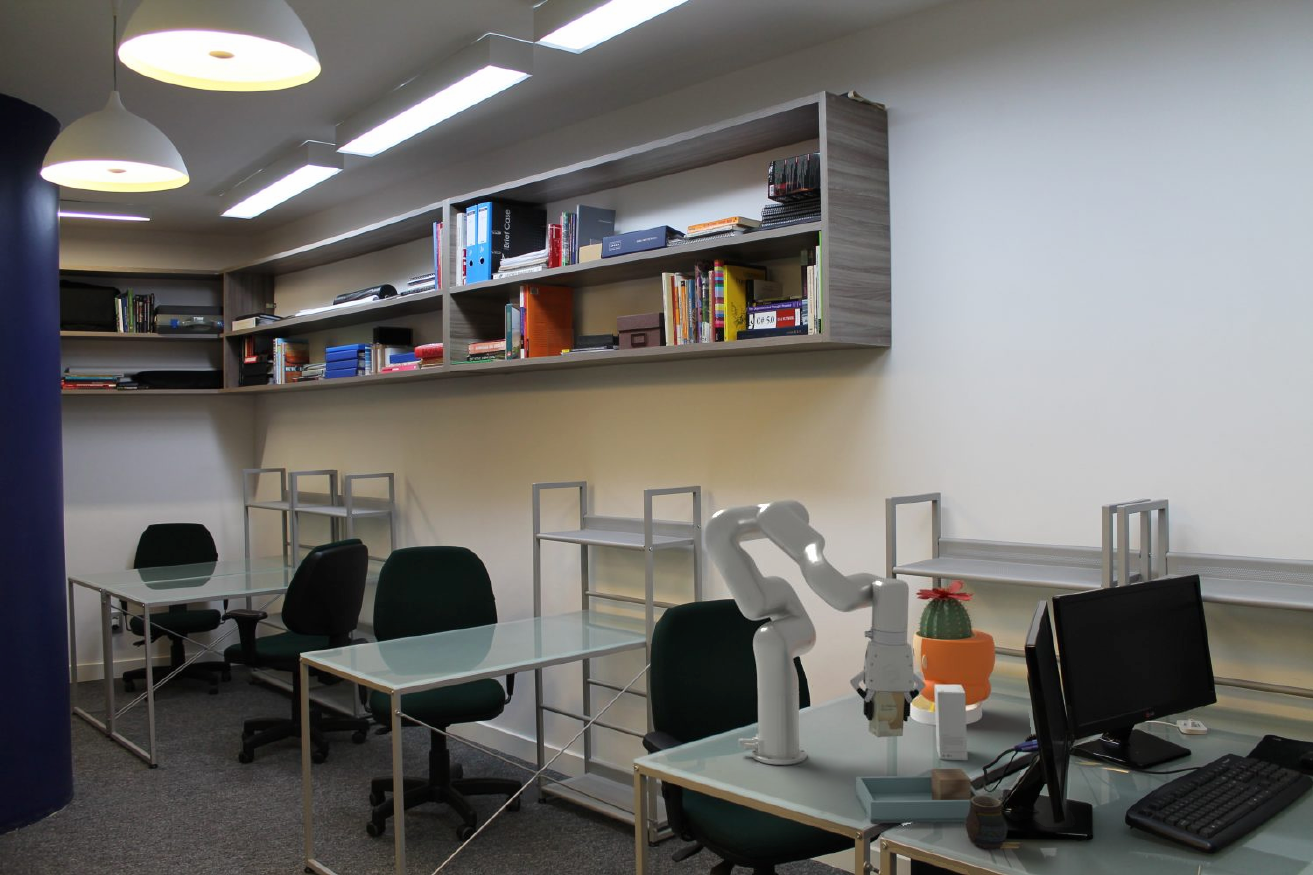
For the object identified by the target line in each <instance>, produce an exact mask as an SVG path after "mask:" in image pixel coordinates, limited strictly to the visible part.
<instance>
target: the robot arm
mask: <svg viewBox="0 0 1313 875" xmlns="http://www.w3.org/2000/svg"><path fill="white" fill-rule="evenodd" d="M809 523H810V514H809V512H808V510H807V508H806V507H805V505H803V504H802V503H801V502H799V501H797V500H793V499H787V500H777V501H772V502H769V503H762V504H753V505H745V506H732V507H728V508H724V509H721V510H718V511H717V512H714V514H712V516H711V517H710V518H709V519H708V521H707V523H706V526H705V529H704V530H705V531H704V543H705V548H706V550H707V553H708V555H709V556H710V559H711V560H712V562H713V563H714V565H715V567H716V568H717V569H718V571H719V573H720V575H721V577H722V579H723V580H724V583H725V584H726V586H727V588H728V590H729V593H730V594H731V596H732V597H733V599H734V601H735V603H736V605H737V607H738V609H739V611H740V612H741V614H742V615H743V616H744V617H745V618H746V619H747V620H749V621H750V620H751V621H760V620H765V619H768V618H770V620H771V621H767V622H765V623H764V624H762V625H761V626H760V627H759V628H758V629H757V630H756V631H755V633H754V636H753V640H752V647H753V649H752V650H753V654H754V659H755V664H756V674H757V675H756V676H757V678H756V679H757V681H756V683H757V685H756V686H757V724H758V725H757V727H758V728H757V731H758V732H757V733H755V736H752V737H751V738H738V748H744V749H745V750H751V756H752V758H753V759H754V760H756V761H758V762H760V763H763V764H769V765H776V766H777V765H778V766H779V765H780V766H782V765H783V766H784V765H794V764H795V765H796V764H798V763H799V764H800V763H801V762H803V761H804V760H805V759H807V751H806V750H805V749H804V748H803V747H801V746H800V695H799V694H800V691H799V688H800V687H799V686H800V685H799V684H800V683H799V676H798V675H799V674H798V672H797V667H796V666H795V663H794V659H795V658H796V657H801V656H803V655H805V654H807V653H809V652H810V651H811V650H812V649H813V648H814V647H815V644H816V642H817V632H816V628H815V625H814V623H813V621H812V619H811V618H810V616H809V614H808V612H807V610H806V608H805V606H804V605H803V603H802V602H801V599H800V598H799V596H798V593H797V592H796V591H795V589H794V587H792V585H791V583H789V581H787V580H786V579H784V578H782V576H781V577H780V576H776V575H769V576H764V575H763V574H762V573H761V571H760V569H759V568H758V566H757V564H756V562H755V560H754V559H753V557H752V556H751V555H750V554H749V553H748V552H747V551H746V550H745V549H744V548H743V547H742V546H741V545H740V543H743V542H750V541H755V540H756V541H757V540H762V539H763V540H764V539H768V540H769V541H771V542H772V543H773V544H774V545H775V546H776V547H777V548H779V549H780V550H781V551H782V552H783V553H785V554H786V555H787V556H788V557H789V558H790V559H791V560H792V561H794V562H795V563H796V564H797V565H798V566H799V569H800V572H801V574H802V576H803V578H804V580H805V582H806V584H807V585H808V587H809V588H810V589H811V590H812V592H814V594H816V595H817V596H818V597H819V598H821V600H823V601H824V602H825V603H826V604H828V606H830V607H832V608H833V609H835V610H837V611H839V612H842V613H851V612H854V611H857V610H861V609H866V608H871V607H872V608H871V627H870V629H869V630H865V631H864V637H865V638H868V639H870V640H869V641H868V642H867V645H866V649H865V657H864V660H863V661H864V663H863V669H862V670H861V672H859V673H858V674H856V675H855V676H854V677H853V678H851V679H850V680H849V683H850V685H851V686H852V688H853V689H854V690H855V691H856V693H857V694H858V695H859V696H860V697H861V698H862V699H863V710H862V711H863V715H864V716H865V718H866V719H867V721H868V722H869V721H871V720H872V707H873V703H872V701H871V698H872V696H873V694H874V693H875V692H879V691H884V692H903V694H904V696H905V701H904V720H903V722H908V720H909V719H908V718H909V717H911V705H910V703H912V701H913V699H914V698H916V697H918V696H920V695H919V694H921V693H920V692H921V691H922V690H923V689H924V688H925V686H926V684H925V683H924V682H923V680H922V679H921V678H920V677H918V675H916V674H915V671H914V659H913V657H914V654H913V648H912V645H911V644H910V643H909V642H908V625H909V623H908V621H909V596H910V594H909V592H910V591H909V590H910V589H909V588H910V587H909V585H908V583H907V582H906V581H905V580H902V579H898V578H889V577H888V578H887V577H881V576H878V575H877V574H876V575H875V574H872V573H869V572H859V573H854V574H848V575H843V573H842V572H840V571H839V570H837V569H836V568H835V567H834V566H833V565H832V564H830V562H829V561H828V560H827V559H826V557H825V555H824V549H825V547H826V539H825V537H824V536H823V535H822V534H821V533H820V532H818V531H817V530H816V529H815V528H813V526H811V525H810V524H809ZM860 683H863V684H864V686H865V688H864V689H863V688H862V687H861V686H860ZM914 684H915V685H914Z"/></svg>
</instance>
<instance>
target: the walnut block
mask: <svg viewBox="0 0 1313 875" xmlns="http://www.w3.org/2000/svg"><path fill="white" fill-rule="evenodd" d="M931 776H932V800H971V786H972V785H971V782H972V781H971V778H970V777H969V776H968V775H967V774H966V773H965V771H964V770H963V769H962V768H931Z"/></svg>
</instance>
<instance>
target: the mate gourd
mask: <svg viewBox="0 0 1313 875" xmlns="http://www.w3.org/2000/svg"><path fill="white" fill-rule="evenodd" d="M970 801H971V802H970V810H969V814H968V816H967V819H966V822H965V828H966V829H965V830H966V833H967V837H968V839H969V840H970V842H972V843H973V844H974V845H976V846H977V847H979V848H982V849H992V850H993V849H997V848H999V847H1001V846H1002V845H1003V844H1004V843H1005V842H1006V838H1007V835H1008V824H1007V820H1006V817H1005V814H1004V812H1003V802H1002V800H1000V799H998V798H997V797H993V796H990V795H983V794H982V795H981V794H980V796H974V797H972V798H971V800H970Z"/></svg>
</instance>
